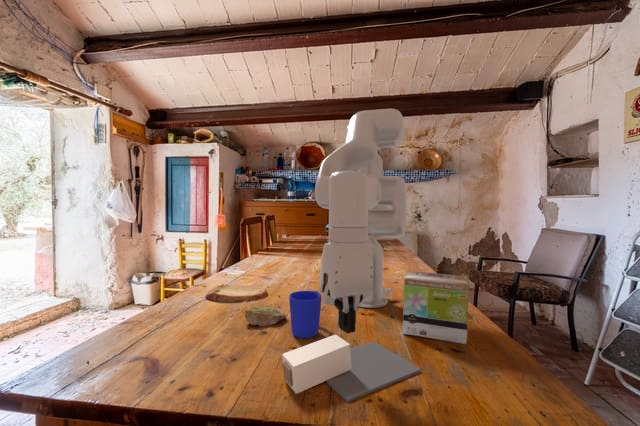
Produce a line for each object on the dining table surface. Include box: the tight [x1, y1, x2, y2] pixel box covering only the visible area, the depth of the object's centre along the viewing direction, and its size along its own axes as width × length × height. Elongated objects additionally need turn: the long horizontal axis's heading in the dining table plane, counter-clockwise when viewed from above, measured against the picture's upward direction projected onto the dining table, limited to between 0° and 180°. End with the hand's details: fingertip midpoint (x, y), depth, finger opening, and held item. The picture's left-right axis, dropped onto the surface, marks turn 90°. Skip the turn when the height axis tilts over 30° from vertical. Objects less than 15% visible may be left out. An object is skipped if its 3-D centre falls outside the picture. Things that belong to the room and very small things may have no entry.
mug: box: [288, 290, 323, 339], centre depth 77 cm, size 8×12×10 cm
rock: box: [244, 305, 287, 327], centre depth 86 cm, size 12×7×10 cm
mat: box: [324, 340, 422, 403], centre depth 60 cm, size 18×14×1 cm
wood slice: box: [204, 283, 269, 303], centre depth 107 cm, size 18×18×4 cm
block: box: [281, 334, 352, 394], centre depth 57 cm, size 5×5×12 cm
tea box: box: [402, 270, 470, 345], centre depth 77 cm, size 15×10×15 cm, turn 70°
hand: (347, 330), depth 58 cm, fingers closed
